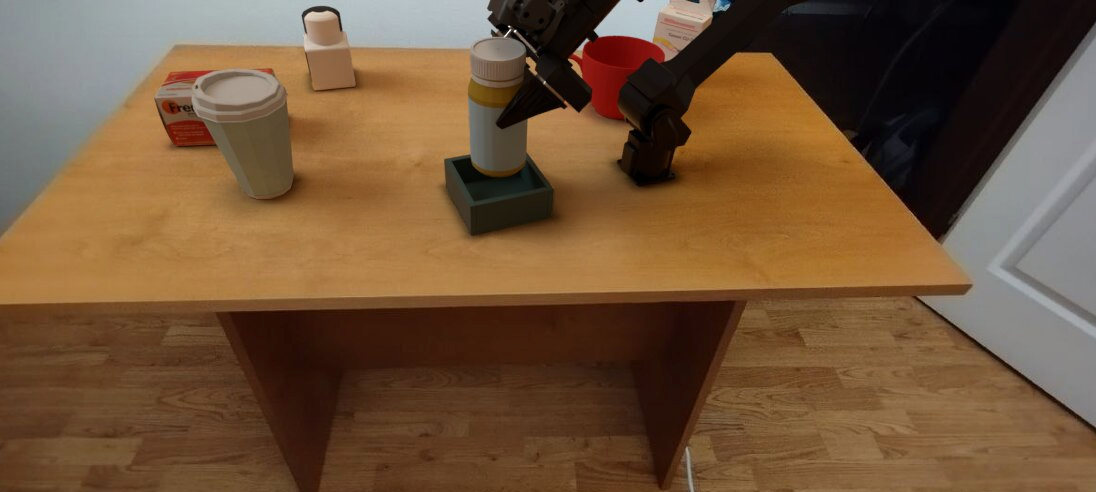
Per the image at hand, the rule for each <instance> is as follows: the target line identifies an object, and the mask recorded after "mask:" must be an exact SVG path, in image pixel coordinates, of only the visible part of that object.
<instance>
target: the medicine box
mask: <svg viewBox="0 0 1096 492" xmlns="http://www.w3.org/2000/svg"><path fill="white" fill-rule="evenodd" d="M252 69H253V70H258V71H261V72H264V73H267V74H271V75H273V77H276V74H275V71H274V68H269V67H267V68H252ZM219 70H220V69H215V70H214V69H211V70H210V69H209V70H189V71H188V70H183V71H170V72H168V75H167V77H166V78H165V80H164V81H163V83H162V84H161V86H160V87H159V88H158V90H157V92H156V93H155V94H154V97H153V99H154V102H155V106H156V110H157V113H158V116H159V118H160V121H161V123H162V125H163V128H164V130H165V132H166V134H167V136H168V138H169V140H170V141H171V144H172V146H175V147H185V146H207V145H208V146H209V145H217V144H216V142H215V140H214V139H213V137H212V135H211V133H210V132H209V130H208V128H207V126H206V125H205V123H204V121H203V119H202V118H201V117H198V115H197V114H196V112H195V111H194V109H193V104H192V96H193V94H194V93H193V91H192V86H193V85H194V83H195V81H196V80H197V78H199V77H201V76H203V75H206V74H208V73H211V72H213V71H219Z"/></svg>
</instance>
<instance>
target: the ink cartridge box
mask: <svg viewBox="0 0 1096 492" xmlns="http://www.w3.org/2000/svg"><path fill="white" fill-rule="evenodd" d="M716 1H717V0H699V3H697V2H693V1H689V0H669V3H668V4H667V5H666V6H664V7H663V8H662V9H660V10H659V11H658V14H657V18H656V21H655V22H656V23H655V27H654V33H653V36H652V41H651V43H653V44H655V45H657V46H658V47H660V48H661V49H662V50H663V52H664V54H665V61H668V60H670V59H672V58H673V57H675V56H676V55H677V54H678V53H679V52H680V51H681V50H682V49H684V48H685V47H686V46H687V45H688V44H689V43H690V42H691V41H692V40H693V39H695V38H696V37H697V36H698V35H699V34H700V33H701V32H702V31H703V30H705V29H706V28H707V27H708V26H709V25H710V24H711V23H712V22H713V21H712V20H713V19H714V15H713V13H714V9H715V4H716ZM665 61H664V62H665Z"/></svg>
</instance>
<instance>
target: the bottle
mask: <svg viewBox="0 0 1096 492" xmlns="http://www.w3.org/2000/svg"><path fill="white" fill-rule="evenodd" d="M526 62H527V57H526V48H525V46H524V45H523V44H522V43H521V42H519V41H517V40H514V39H511V38H505V37H492V36H490V37H485V38H481V39H478V40H477V41H475V42H473V43H472V44H471V46H470V48H469V63H470V74H471V77H470V78H469V79H470V80H469V83H468V86H467V103H468V104H467V106H468V127H469V128H468V129H469V149H470V150H469V151H470V154H471V162H472V165H473V166H474V167H475V168H476V169H477V170H478V171H479V172H481V173H482V174H484V175H486V176H491V177H507V176H511V175H513V174H515V173H517V172H518V171H519V170H521V169H522V168H523V167H524V165H525V163H526V152H527V149H528V147H527V146H528V145H527V144H528V122H529V121H528V119H527V120H524V121H522V122H519V123H517V124H514V125H512V126H510V127H507V128H505V129H500V128H499V127H498V126H497V125H496V121H497V120H498V118H499V116H500V115H501V113H502V112H503V111H504V109H505V108H506V107H507V105H508V104H509V102H510V101H511V100H512V98H513V97H514V96H515V94H516V93H517V92H518V90H519V89H520V88H521V86H522V85H523V76H524V67H525V66H526Z"/></svg>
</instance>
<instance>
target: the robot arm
mask: <svg viewBox="0 0 1096 492" xmlns="http://www.w3.org/2000/svg"><path fill="white" fill-rule="evenodd" d="M621 1H622V0H489V2H488V4H487V7H486V9H487V11H488V12H491V13H490V14H489V15H488V17H487V18H486V19H487V21H488V22H489V23H490V24H491V25H492V26H493V27H494V28H495V29H496V30H497V31H494V29H492V28H491V29H490V35H491V37H505V38H511V39H514V40H517V41H519V42H521V43H522V44H523V45H524V46H525V48H526V59H528V58H530V60H532V62H534V63H535V67H534V71H535V72H536V74H535V73H534V72H532V70H530V69H531V65H530V64H529V63H528V62H527V61H526V66H525V67H524V76H523V85H522V86H521V88H520V89H519V90H518V92H517V93H516V94H515V96H514V97H513V98H512V100H511V101H510V102H509V104H508V105H507V107H506V108H505V109H504V111H503V112H502V113H501V115H500V116H499V118H498V120H497V121H496V125H497V126H498V127H499V128H500V129H505V128H507V127H510V126H512V125H514V124H517V123H519V122H522V121H524V120H527V119H531V118H534V117H536V116H539V115H541V114H545V113H548V112H551V111H554V110H557V109H560V108H561V109H562V110H566V109H567V108H568V105H569V106H570V107H571V108H572V109H574V110H575V111H576V112H577V113H578V114H580V113H581V112H582V111H583V110H584V109H585V108H586V107H587V106H588V105H589V104H590V103H591V102H590V101H591V99H592V91H593V89H592V88H591V87H590V86H589V85H588V84H587V83H586V82H585V81H584V80H583V79H582V76H580V75H579V74H578V72H577V71H576V70H575V69H574V68H573V66H574V64H572V62H571V61H570V59H569V58H570V57H571V56H572V54H574V53H576V51H577V50H578V49H579V48H580V47H581V46H582V44H583V43H585V42H586V40H588V41H590V42H591V43H594V42H595V40H596V39H597V38H598V37H600V35H599V34H598V33H597V32H596V31H595V30H596V29H597V28H598V27H599V25H600V24H601V23H602V22H603V21H604V20H605V19H606V18H607V17H608V16H609V14H610V13H612V11H613V10H614V9H615V8H616V6H617V5H618V4H619V3H620V2H621ZM644 1H645V0H636V2H638V3H643V2H644ZM806 2H810V0H735V1H734V2H733V3H732V4H731V5H730V6H728V8H727V9H725V10H724V11H723V12H722V13H721V14H720V15H719V16H718V17H716V18H715V20H713V21H711V24H710V25H709V26H708V27H707V28H706V29H705V30H703V31H702V32H701V33H700V34H699V35H698V36H697V37H696V38H695V39H693V40H692V41H691V42H690V43H689V44H688V45H687V46H686V47H685V48H684V49H682V50H681V51H680V52H679V53H678V54H677V55H676V56H675V57H673V58H672V59H670V60H668V61H665V62H662V63H658V62H657V61H656V60H655V59H653V58H652V57H650V58H649V59H647V60H645V61H644V62H643V64H642V65H641V66H640V67H639V68H638V69H637V70H636V71H635V72H634V73H632V74H630V75H628V76H626V79H627V80H628V81H627V82H626V83H625V84H624V85H623V86H622V87H621V89H620V90H619V97H618V108H619V110H620V112H621V113H622V114H623V115H624V118H623V120H624V122H625V123H626V124H628V125H629V126H630V127H631V128H633V129H631V130H628V134H627V139H626V141H625V142H624V144H623V149H622V154H621V158H619V159H617V160H616V165H617V166H618V167H619V168H620V170H621V171H623V172H624V174H625V175H626V176H627V177H628V178H629V179H630V180H631V181H632V182H633V183H634V184H635V185H636V186H638V187H641V186H647V185H651V184H655V183H661V182H665V181H666V182H667V181H670V180H674V179H676V178H677V174H676V172H675V171H673V170H672V165H673V160H674V156H675V152H676V149H678V147H683V146H686V144H687V142H688V140H689V139H690V137H691V135H692V132H693V131H692V130H691V129H690V127H689V126H688V125H687V124H686V123H685V122H684V120H683V119H682V118H683V116H684V115H685V114H687V112H688V111H689V108H690V106H691V103H692V101H693V99H694V96H695V93H696V91H697V89H698V88H699V86H701V85H702V84H703V83H704V82H705V81H706V80H708V79H709V78H710V77H711V76H712V75H714V73H716V71H717V70H719V69H720V68H721V67H722V66H723V65H725V64H726V63H727V62H728V61H729V60H730V59H731V58H732V57H734V55H736V54H737V53H738V52H739V51H740V50H741V49H743V48H744V47H745V46H746V45H747V44H748V43H749V42H750V41H751V40H753V39H754V38H755V37H756V36H757V35H759V34H760V33H761V32H762V31H763V30H764V29H765V28H766V27H767V26H769V25H770V24H771V23H772V22H774V20H775V19H777V18H778V17H779V16H781V14H783V12H784V11H786V10H787V9H788V8H791V7H793V6H796V5H800V4H804V3H806ZM565 102H566V103H567V104H568V105H567V104H566V103H565Z"/></svg>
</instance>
